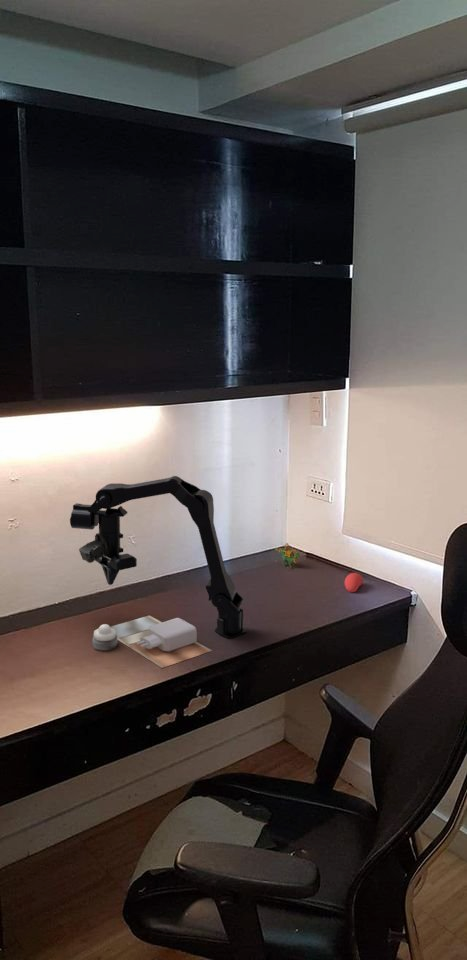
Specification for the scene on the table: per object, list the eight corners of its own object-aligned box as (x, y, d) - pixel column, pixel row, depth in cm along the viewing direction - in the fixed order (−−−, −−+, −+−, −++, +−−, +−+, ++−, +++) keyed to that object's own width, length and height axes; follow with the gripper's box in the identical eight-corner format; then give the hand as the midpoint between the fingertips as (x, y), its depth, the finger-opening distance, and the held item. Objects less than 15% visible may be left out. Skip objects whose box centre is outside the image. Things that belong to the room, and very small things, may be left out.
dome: (108, 630, 199) (108, 618, 199) (119, 637, 195) (119, 625, 195) (90, 636, 196) (89, 623, 195) (100, 643, 192) (100, 630, 191)
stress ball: (337, 593, 239) (341, 580, 234) (350, 576, 244) (354, 563, 240) (351, 601, 237) (355, 588, 232) (364, 584, 242) (368, 571, 238)
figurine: (296, 571, 253) (297, 548, 252) (271, 562, 262) (271, 540, 260) (302, 569, 256) (303, 546, 254) (277, 560, 264) (278, 538, 262)
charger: (129, 647, 194) (176, 632, 204) (149, 660, 188) (196, 644, 197) (128, 630, 193) (175, 616, 203) (149, 642, 187) (196, 627, 196)
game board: (149, 615, 215) (149, 608, 215) (211, 651, 194) (211, 643, 193) (77, 636, 201) (77, 629, 200) (136, 677, 179) (136, 669, 179)
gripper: (66, 527, 207) (68, 580, 210) (100, 544, 193) (102, 601, 196) (101, 520, 214) (102, 572, 217) (137, 536, 200) (138, 591, 203)
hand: (110, 584), depth 208 cm, fingers closed
